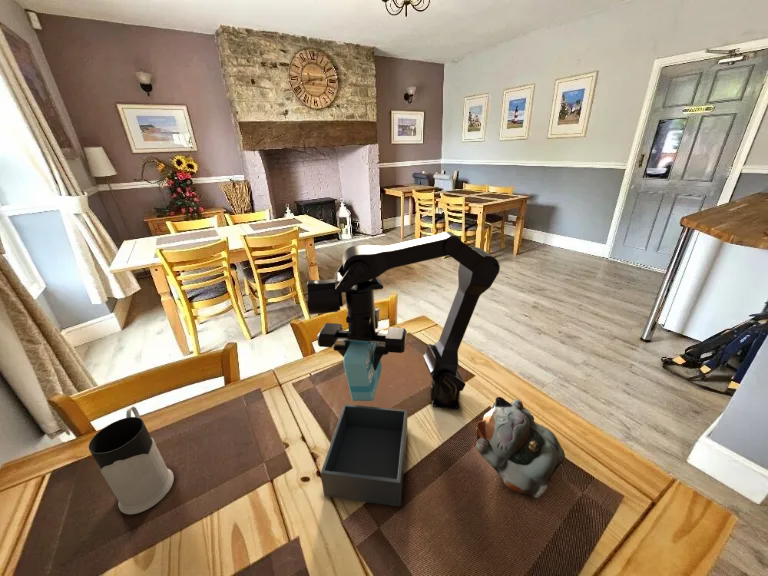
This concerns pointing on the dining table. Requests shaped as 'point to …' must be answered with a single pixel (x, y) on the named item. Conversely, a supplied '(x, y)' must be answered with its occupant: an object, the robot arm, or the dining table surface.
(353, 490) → the dark grey open box
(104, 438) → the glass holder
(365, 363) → the light blue flat block
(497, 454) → the lucky cat figurine
